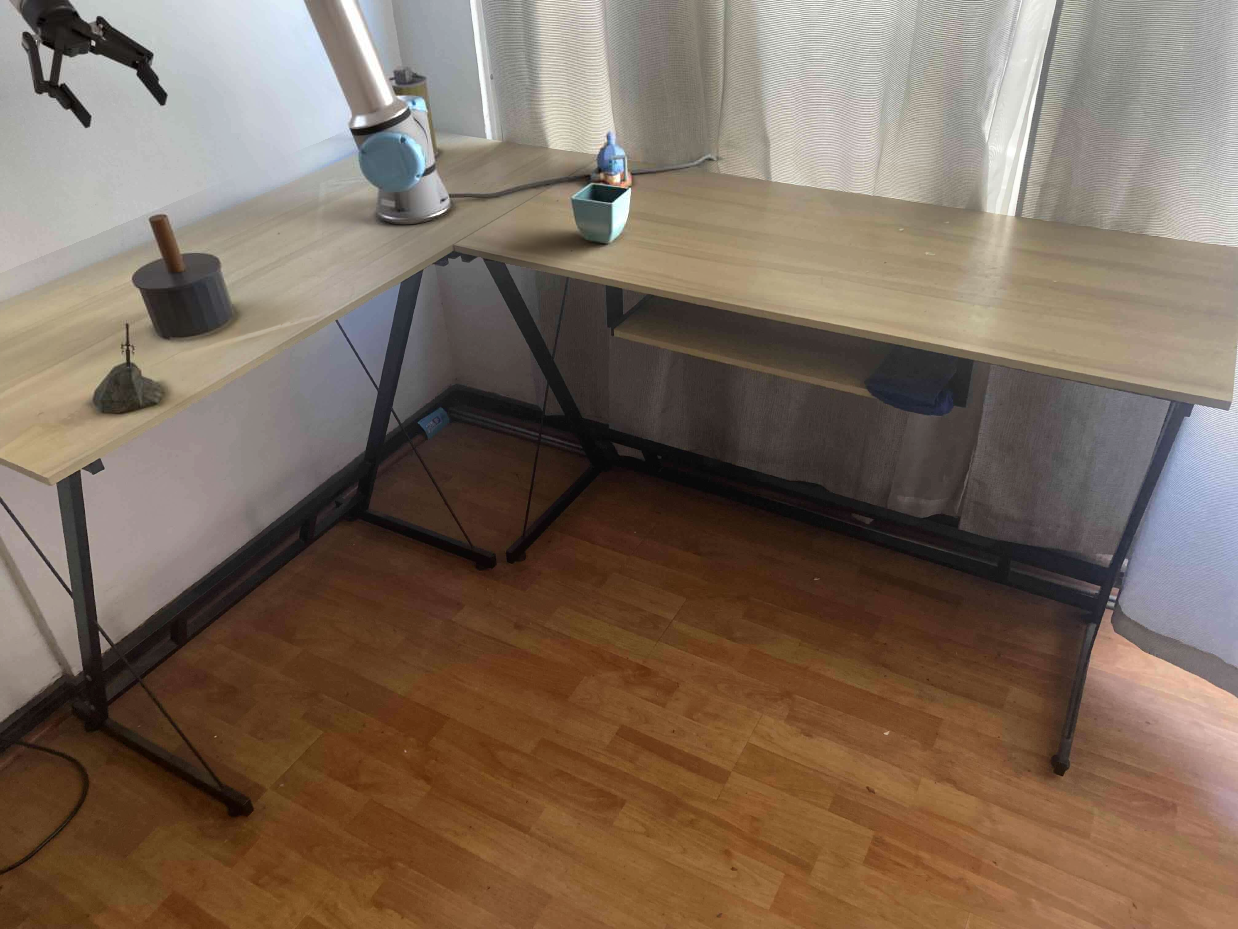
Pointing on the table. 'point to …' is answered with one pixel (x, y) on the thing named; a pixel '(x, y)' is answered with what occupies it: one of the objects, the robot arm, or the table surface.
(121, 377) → the sword in stone
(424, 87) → the canister
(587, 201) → the flower pot
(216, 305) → the tin
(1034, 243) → the table surface
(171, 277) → the lid
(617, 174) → the model
